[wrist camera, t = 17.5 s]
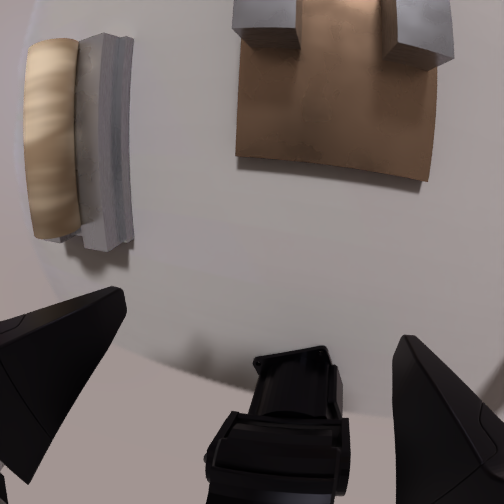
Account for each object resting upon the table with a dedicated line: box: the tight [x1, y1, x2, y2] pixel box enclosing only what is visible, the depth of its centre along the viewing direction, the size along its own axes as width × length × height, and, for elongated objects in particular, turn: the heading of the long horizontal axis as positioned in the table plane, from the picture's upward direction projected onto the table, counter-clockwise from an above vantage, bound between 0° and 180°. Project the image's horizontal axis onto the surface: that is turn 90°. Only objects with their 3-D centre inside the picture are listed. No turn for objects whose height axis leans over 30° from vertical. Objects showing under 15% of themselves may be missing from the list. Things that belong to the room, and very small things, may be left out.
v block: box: [44, 33, 134, 252], centre depth 19 cm, size 16×9×3 cm, turn 177°
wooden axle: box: [23, 38, 81, 239], centre depth 16 cm, size 14×4×4 cm, turn 177°
